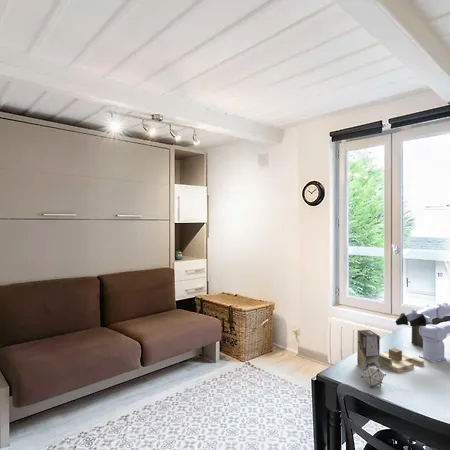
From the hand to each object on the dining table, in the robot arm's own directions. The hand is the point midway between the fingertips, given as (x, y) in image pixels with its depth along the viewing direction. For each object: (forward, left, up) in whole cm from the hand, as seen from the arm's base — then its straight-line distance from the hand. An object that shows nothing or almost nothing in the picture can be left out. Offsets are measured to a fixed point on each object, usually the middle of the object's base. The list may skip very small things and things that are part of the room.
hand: (403, 323), depth 162 cm
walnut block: (+1, -3, -17) cm, 18 cm away
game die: (+30, +9, -19) cm, 37 cm away
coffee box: (+18, -4, -19) cm, 27 cm away
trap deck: (+1, -3, -19) cm, 19 cm away
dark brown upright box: (-35, -14, -19) cm, 42 cm away
